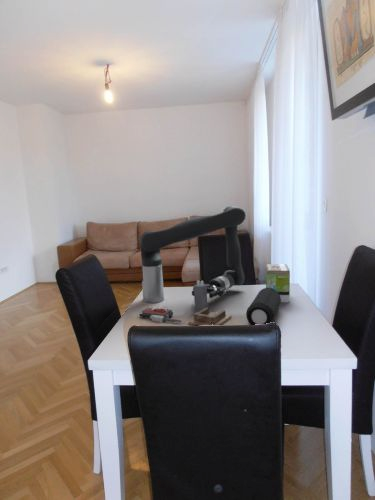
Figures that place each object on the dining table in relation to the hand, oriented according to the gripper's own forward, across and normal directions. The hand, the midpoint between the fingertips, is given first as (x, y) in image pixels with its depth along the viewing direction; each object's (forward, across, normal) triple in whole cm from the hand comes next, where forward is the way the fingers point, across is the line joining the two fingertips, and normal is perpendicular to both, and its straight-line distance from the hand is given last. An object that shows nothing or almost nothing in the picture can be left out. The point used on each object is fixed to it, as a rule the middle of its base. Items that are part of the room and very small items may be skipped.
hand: (201, 294), depth 152 cm
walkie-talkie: (+16, -9, +7) cm, 20 cm away
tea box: (-29, +24, +7) cm, 38 cm away
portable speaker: (0, +28, +7) cm, 29 cm away
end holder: (+10, +10, +7) cm, 16 cm away
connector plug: (0, 0, +7) cm, 7 cm away
